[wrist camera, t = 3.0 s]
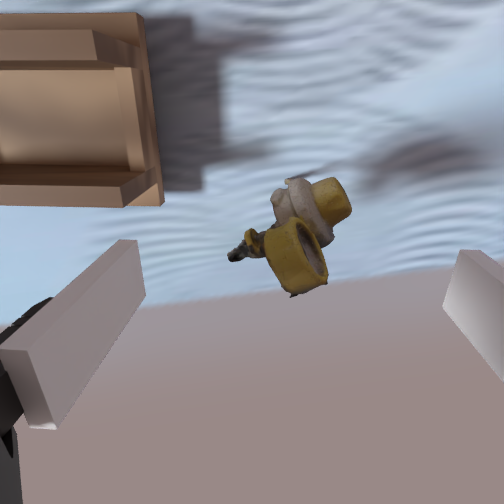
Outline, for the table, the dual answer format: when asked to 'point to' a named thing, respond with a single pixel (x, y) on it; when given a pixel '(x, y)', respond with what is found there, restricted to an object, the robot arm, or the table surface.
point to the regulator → (298, 233)
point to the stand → (77, 112)
